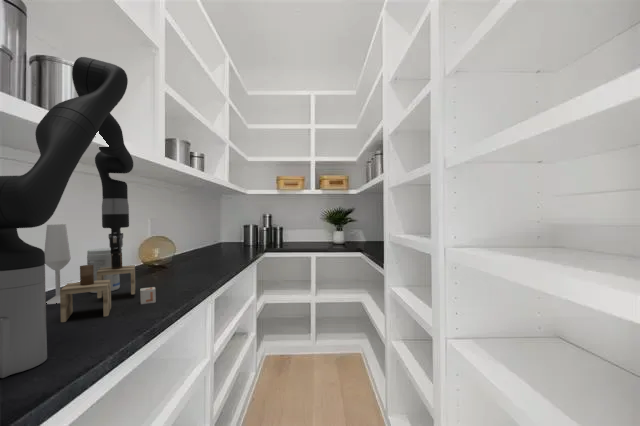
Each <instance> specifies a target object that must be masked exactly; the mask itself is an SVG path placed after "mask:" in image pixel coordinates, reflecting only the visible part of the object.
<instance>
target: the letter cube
mask: <svg viewBox="0 0 640 426" xmlns="http://www.w3.org/2000/svg"><path fill="white" fill-rule="evenodd" d="M139 291H140V292H139V293H140V294H139V295H140V305H146V304H154V303H157V302H156V301H157V300H156V299H157V296H156V287H155V286H152V287H142V288H140V290H139Z"/></svg>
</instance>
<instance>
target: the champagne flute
mask: <svg viewBox="0 0 640 426" xmlns="http://www.w3.org/2000/svg"><path fill="white" fill-rule="evenodd" d="M45 231H46V232H45V240H44V241H45V243H44V250H43V251H44V254H45V266H47V267H48V268H49V269H51V270H53V271H54V273H55V274H54V275H55V279H54V280H55V296H53V297H51V298H50V299H48V300H46V303H47V304H46V305H56V303H57V304H60V290H61V270H63V269H64V268H65V267H66V266H67V265H68V264H69V262H70V261H71V252H70V251H71V250H70V244H69V238H68V237H69V236H68V230H67V224H63V223H62V224H59V223H58V224H46V230H45Z"/></svg>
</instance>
